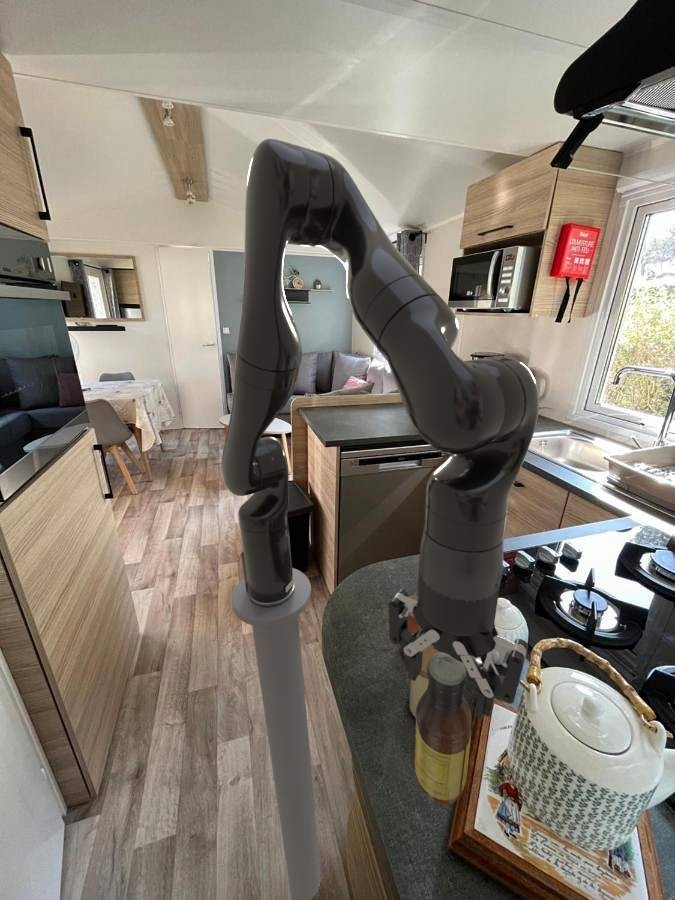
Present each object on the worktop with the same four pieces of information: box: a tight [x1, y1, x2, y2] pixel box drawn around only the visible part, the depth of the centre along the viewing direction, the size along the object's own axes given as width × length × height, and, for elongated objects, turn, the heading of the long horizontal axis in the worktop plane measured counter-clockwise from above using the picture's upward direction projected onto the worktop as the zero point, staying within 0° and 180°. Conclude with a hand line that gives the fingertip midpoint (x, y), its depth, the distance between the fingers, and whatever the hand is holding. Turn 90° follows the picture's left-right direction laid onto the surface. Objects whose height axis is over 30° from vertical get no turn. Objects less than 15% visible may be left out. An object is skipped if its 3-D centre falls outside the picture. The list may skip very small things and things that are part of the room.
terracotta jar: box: [402, 594, 420, 658], centre depth 64 cm, size 5×5×10 cm
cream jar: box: [408, 644, 443, 719], centre depth 55 cm, size 5×5×10 cm
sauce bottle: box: [414, 653, 472, 806], centre depth 45 cm, size 6×6×20 cm
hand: (446, 691), depth 42 cm, fingers open, 7 cm apart
